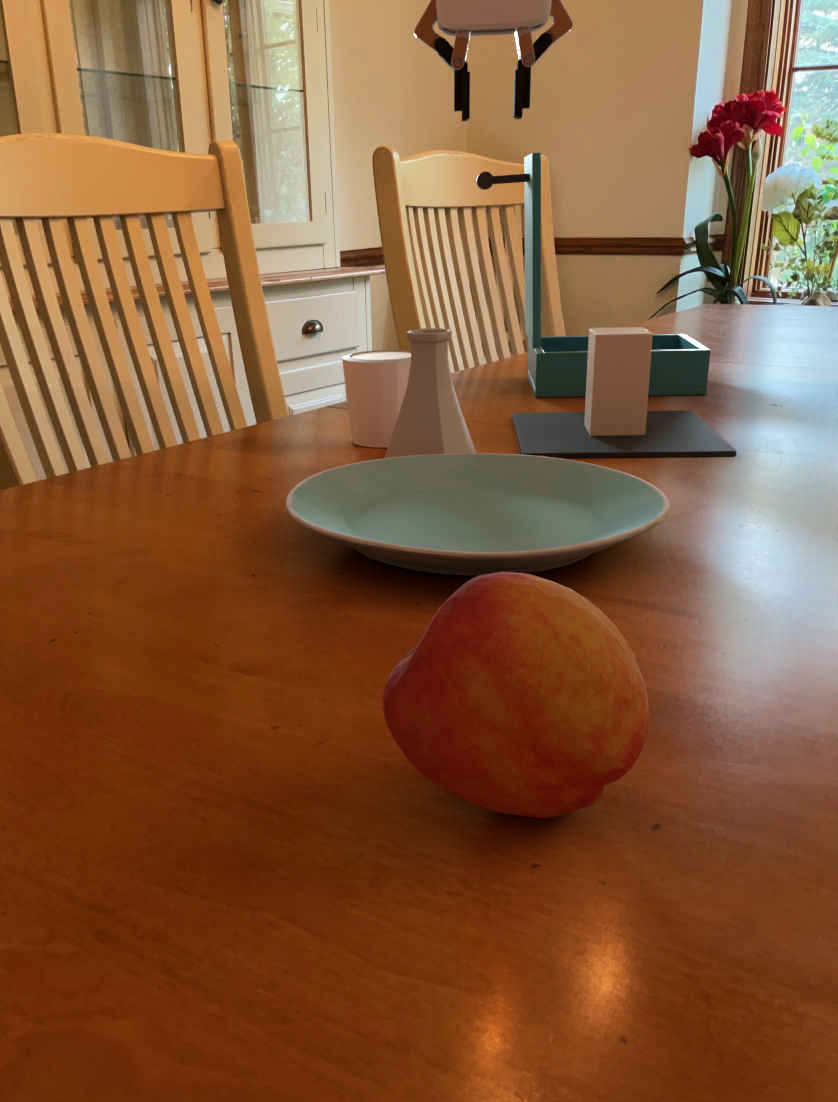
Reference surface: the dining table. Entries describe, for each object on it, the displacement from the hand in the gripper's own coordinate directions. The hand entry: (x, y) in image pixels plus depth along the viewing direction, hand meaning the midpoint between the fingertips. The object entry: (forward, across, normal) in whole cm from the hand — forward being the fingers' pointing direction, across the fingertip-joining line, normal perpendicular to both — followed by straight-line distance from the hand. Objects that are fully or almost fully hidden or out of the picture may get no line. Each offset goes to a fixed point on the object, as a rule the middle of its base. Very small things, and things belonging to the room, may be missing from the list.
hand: (491, 117), depth 96 cm
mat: (+25, -10, +20) cm, 33 cm away
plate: (+26, +2, +48) cm, 54 cm away
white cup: (+26, +9, +20) cm, 34 cm away
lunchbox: (+25, -13, -4) cm, 29 cm away
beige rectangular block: (+25, -10, +20) cm, 33 cm away
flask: (+26, +5, +30) cm, 40 cm away
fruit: (+26, +1, +76) cm, 81 cm away
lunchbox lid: (+12, -5, -4) cm, 14 cm away
